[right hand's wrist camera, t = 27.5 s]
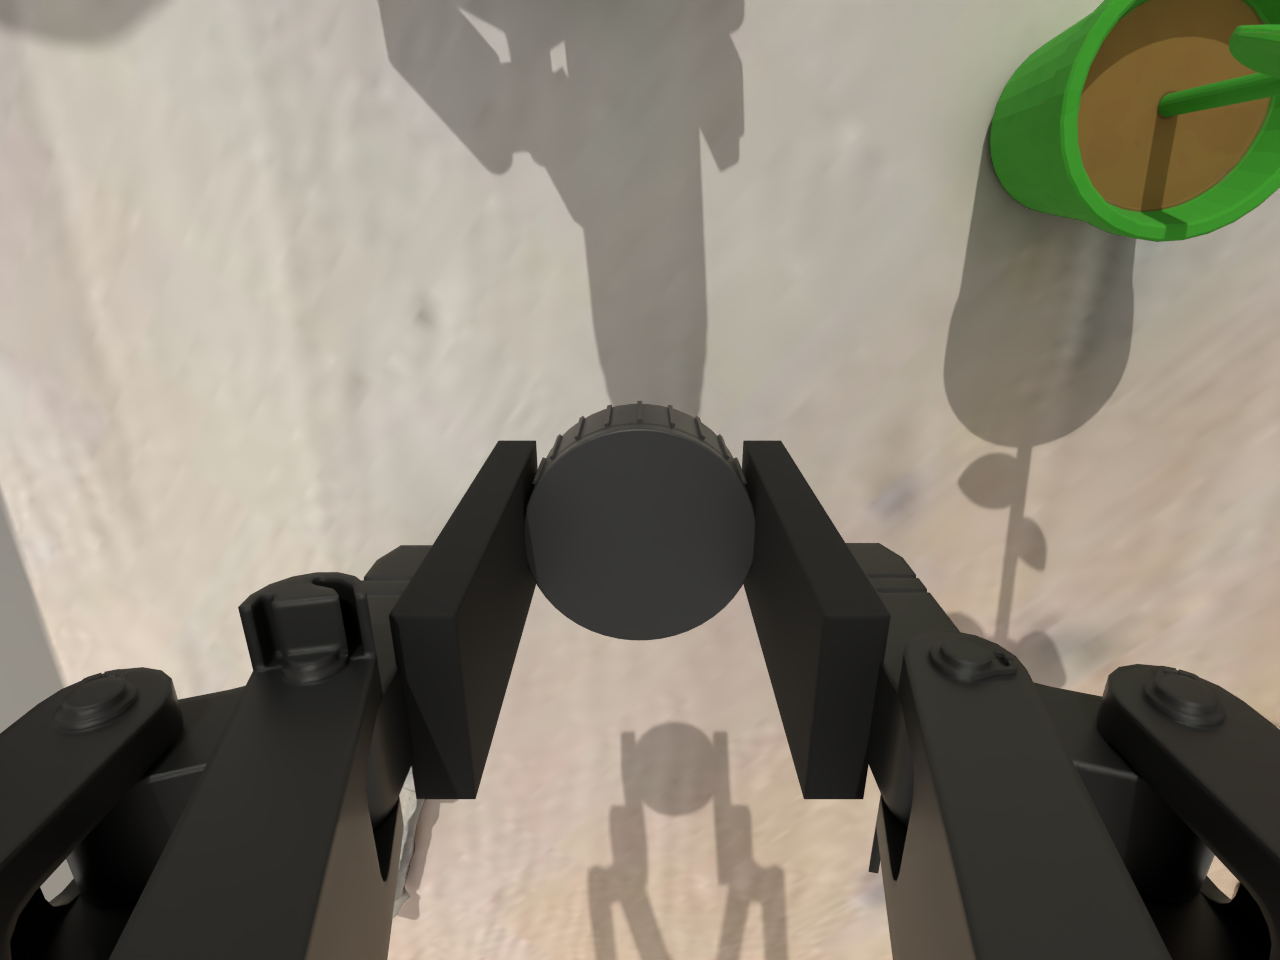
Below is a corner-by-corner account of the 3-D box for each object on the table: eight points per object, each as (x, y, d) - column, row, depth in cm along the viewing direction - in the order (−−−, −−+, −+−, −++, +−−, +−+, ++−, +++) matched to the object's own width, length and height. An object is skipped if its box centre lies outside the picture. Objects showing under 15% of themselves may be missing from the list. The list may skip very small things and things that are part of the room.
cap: (759, 407, 14) (775, 434, 12) (733, 601, 15) (744, 649, 13) (535, 392, 13) (520, 417, 12) (532, 589, 15) (518, 636, 13)
